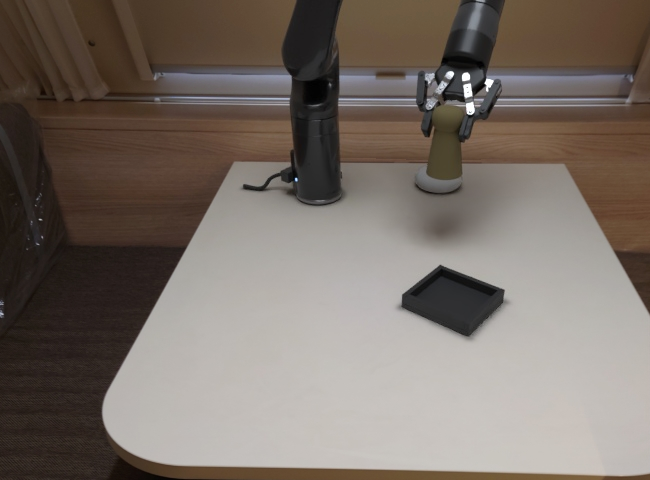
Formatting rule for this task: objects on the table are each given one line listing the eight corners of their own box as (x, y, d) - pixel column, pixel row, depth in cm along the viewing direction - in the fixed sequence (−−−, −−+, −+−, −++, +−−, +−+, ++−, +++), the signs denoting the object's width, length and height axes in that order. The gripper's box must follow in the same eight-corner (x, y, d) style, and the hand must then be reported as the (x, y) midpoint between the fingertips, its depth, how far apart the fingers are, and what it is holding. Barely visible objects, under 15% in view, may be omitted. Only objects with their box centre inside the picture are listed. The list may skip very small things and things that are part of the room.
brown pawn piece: (461, 181, 93) (467, 114, 87) (424, 178, 94) (427, 111, 88) (463, 166, 98) (469, 101, 92) (428, 164, 99) (431, 99, 93)
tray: (401, 306, 88) (401, 294, 86) (439, 276, 94) (440, 264, 93) (468, 336, 82) (469, 323, 80) (503, 301, 88) (505, 289, 87)
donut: (417, 175, 128) (412, 193, 120) (417, 160, 126) (413, 178, 118) (462, 178, 127) (460, 197, 118) (463, 163, 125) (462, 181, 117)
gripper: (424, 23, 92) (395, 120, 90) (514, 30, 87) (485, 133, 85) (433, 51, 99) (406, 142, 97) (516, 58, 94) (490, 154, 92)
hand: (443, 137), depth 91 cm, fingers closed on brown pawn piece, 5 cm apart
